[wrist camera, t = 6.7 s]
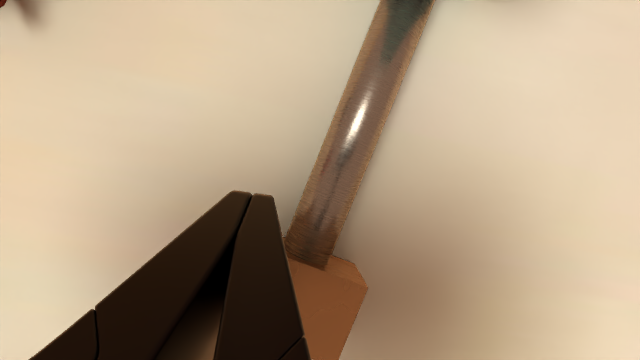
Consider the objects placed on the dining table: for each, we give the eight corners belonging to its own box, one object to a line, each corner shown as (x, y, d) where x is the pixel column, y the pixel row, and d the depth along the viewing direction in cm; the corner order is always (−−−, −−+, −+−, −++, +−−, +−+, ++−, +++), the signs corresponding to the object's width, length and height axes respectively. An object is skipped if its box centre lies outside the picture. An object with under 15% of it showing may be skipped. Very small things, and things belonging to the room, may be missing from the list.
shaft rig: (327, 330, 21) (335, 367, 18) (223, 293, 21) (210, 324, 17) (572, -266, 20) (634, -357, 16) (468, -326, 19) (510, -434, 16)
